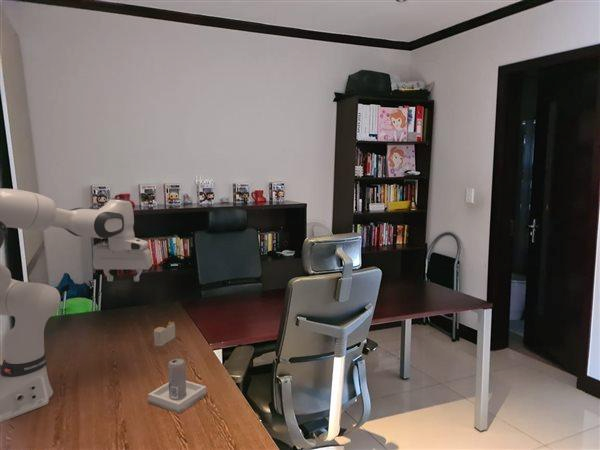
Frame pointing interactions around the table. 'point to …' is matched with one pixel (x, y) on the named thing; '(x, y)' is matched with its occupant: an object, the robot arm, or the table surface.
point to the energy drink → (177, 379)
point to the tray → (163, 400)
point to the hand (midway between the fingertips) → (123, 281)
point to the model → (164, 334)
